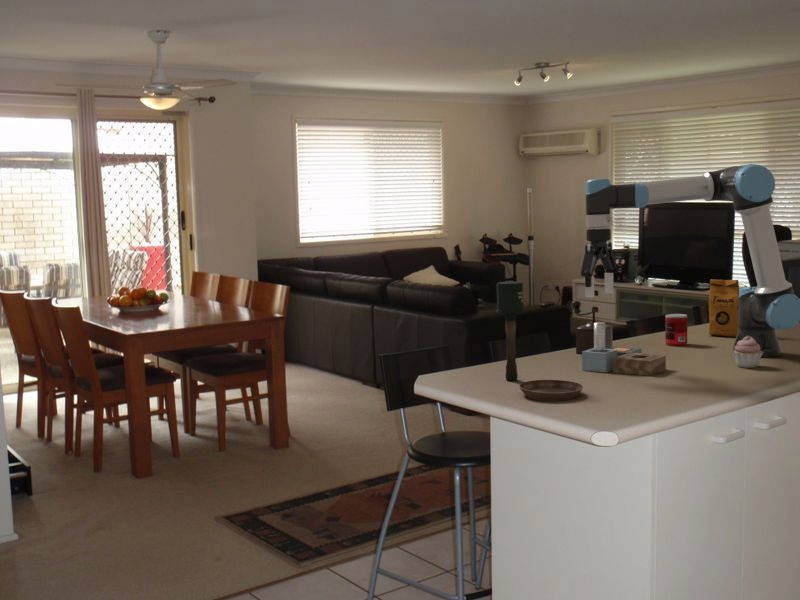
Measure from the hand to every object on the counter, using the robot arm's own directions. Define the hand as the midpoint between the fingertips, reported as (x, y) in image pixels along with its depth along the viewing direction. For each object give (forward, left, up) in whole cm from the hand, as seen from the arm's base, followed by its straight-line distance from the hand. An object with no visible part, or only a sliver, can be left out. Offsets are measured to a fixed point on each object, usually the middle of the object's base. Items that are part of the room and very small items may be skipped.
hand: (599, 295), depth 284 cm
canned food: (-2, -58, -24) cm, 63 cm away
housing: (-1, -13, -24) cm, 27 cm away
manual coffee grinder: (+19, -29, -24) cm, 42 cm away
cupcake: (-38, -26, -24) cm, 52 cm away
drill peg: (0, 0, -24) cm, 24 cm away
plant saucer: (-6, +42, -24) cm, 49 cm away
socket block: (-12, -3, -24) cm, 27 cm away
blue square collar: (0, 0, -24) cm, 24 cm away
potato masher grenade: (+15, +29, -24) cm, 41 cm away
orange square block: (-1, -13, -23) cm, 26 cm away
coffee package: (-10, -87, -24) cm, 91 cm away
